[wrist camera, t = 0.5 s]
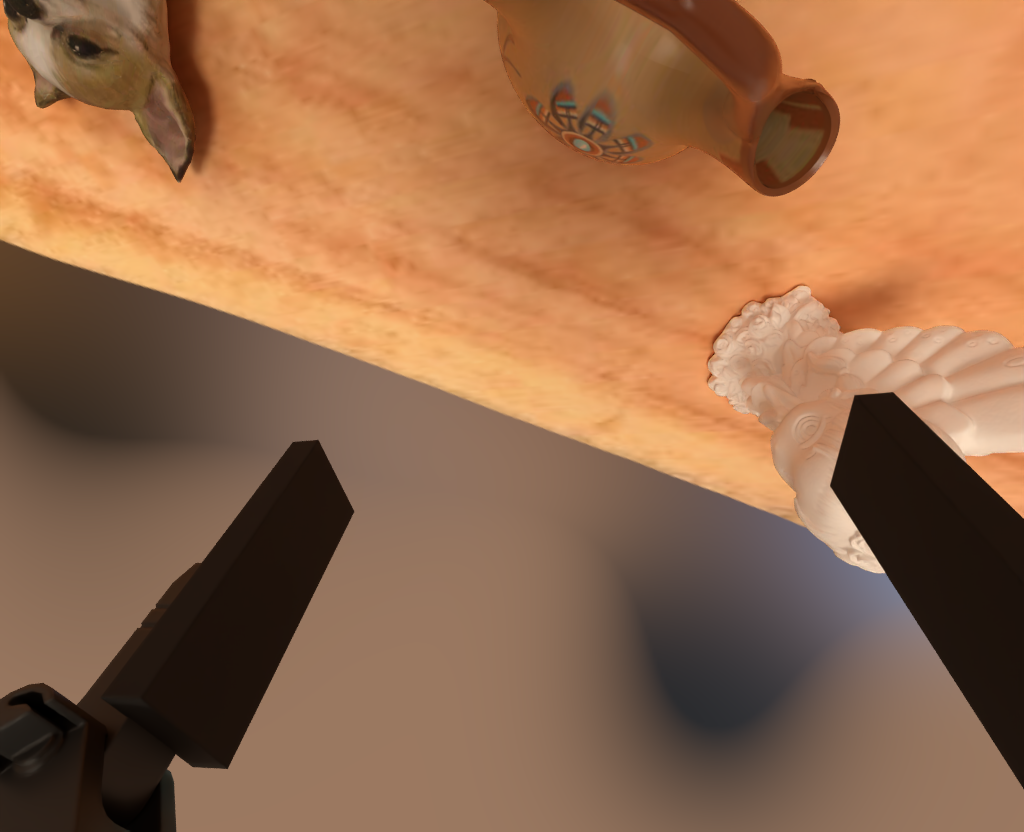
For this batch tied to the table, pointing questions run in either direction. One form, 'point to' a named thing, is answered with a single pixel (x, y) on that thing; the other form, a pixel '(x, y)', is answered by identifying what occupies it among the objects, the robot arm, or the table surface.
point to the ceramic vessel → (666, 85)
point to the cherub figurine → (856, 371)
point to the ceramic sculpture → (108, 64)
